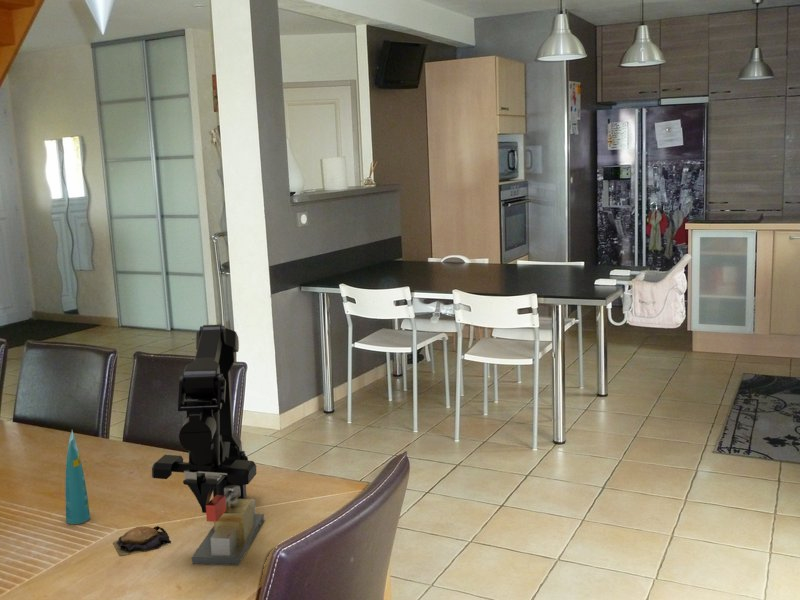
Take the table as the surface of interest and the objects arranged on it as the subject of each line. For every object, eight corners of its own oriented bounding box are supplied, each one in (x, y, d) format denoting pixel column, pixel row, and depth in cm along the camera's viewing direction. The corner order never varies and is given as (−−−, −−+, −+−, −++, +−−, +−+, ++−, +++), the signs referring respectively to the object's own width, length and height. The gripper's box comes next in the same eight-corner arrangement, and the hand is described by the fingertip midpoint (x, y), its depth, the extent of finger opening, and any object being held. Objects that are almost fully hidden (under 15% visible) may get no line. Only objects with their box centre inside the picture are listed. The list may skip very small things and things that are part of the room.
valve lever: (228, 495, 166) (227, 480, 166) (243, 496, 165) (242, 481, 165) (203, 521, 154) (202, 504, 154) (219, 522, 154) (218, 505, 153)
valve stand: (192, 564, 156) (189, 518, 155) (222, 520, 176) (220, 478, 174) (238, 565, 155) (236, 518, 154) (264, 520, 175) (262, 479, 174)
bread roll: (119, 561, 160) (118, 543, 159) (111, 544, 167) (110, 526, 166) (174, 547, 165) (173, 530, 164) (164, 531, 172) (163, 515, 171)
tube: (91, 524, 175) (84, 437, 172) (67, 528, 173) (59, 441, 170) (88, 511, 182) (81, 428, 179) (64, 516, 180) (57, 431, 177)
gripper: (264, 423, 161) (264, 499, 163) (173, 417, 163) (174, 492, 166) (247, 442, 150) (247, 522, 153) (149, 435, 152) (151, 515, 155)
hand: (205, 512), depth 157 cm, fingers closed
